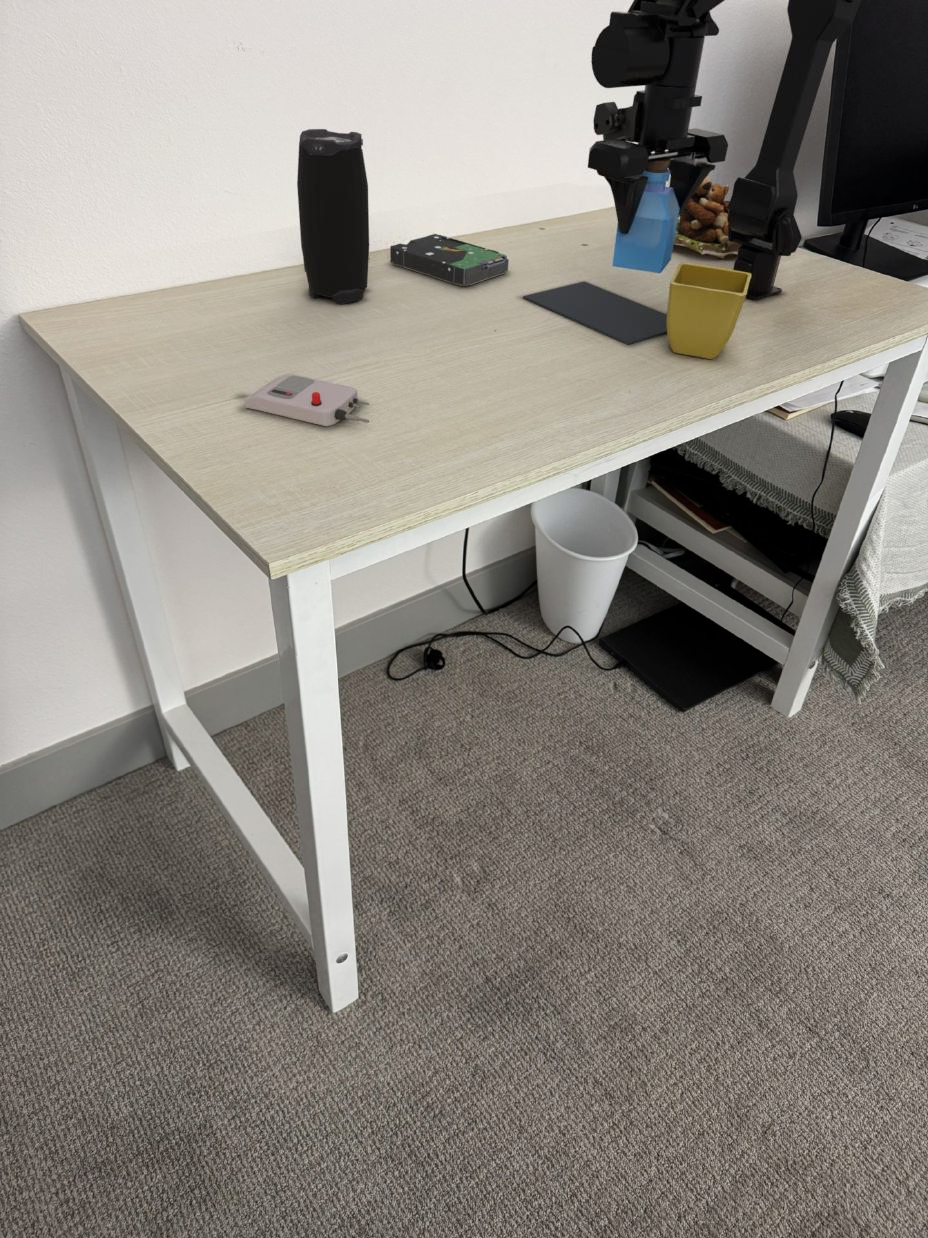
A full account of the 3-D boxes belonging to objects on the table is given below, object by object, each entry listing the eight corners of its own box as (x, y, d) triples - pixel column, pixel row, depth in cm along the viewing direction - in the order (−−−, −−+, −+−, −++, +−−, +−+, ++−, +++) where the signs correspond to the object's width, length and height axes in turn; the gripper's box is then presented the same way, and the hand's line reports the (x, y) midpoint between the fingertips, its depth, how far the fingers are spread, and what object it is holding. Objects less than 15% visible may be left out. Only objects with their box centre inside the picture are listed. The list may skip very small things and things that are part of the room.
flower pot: (735, 343, 112) (752, 271, 106) (728, 369, 105) (746, 293, 100) (666, 332, 114) (680, 261, 108) (655, 357, 107) (669, 282, 102)
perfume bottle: (612, 266, 111) (625, 160, 103) (624, 252, 115) (638, 150, 107) (660, 273, 109) (678, 167, 101) (670, 259, 113) (688, 156, 106)
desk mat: (584, 283, 128) (584, 281, 128) (690, 325, 116) (690, 323, 116) (522, 298, 122) (522, 295, 122) (628, 344, 110) (628, 342, 110)
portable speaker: (379, 288, 123) (376, 130, 110) (353, 310, 116) (348, 144, 103) (322, 279, 124) (313, 123, 112) (294, 300, 117) (281, 136, 105)
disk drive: (388, 265, 131) (465, 288, 124) (388, 246, 129) (465, 268, 122) (434, 251, 137) (509, 272, 130) (434, 232, 136) (510, 252, 128)
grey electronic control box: (264, 381, 97) (261, 355, 95) (391, 410, 93) (391, 383, 91) (230, 404, 92) (226, 377, 91) (362, 436, 88) (361, 408, 86)
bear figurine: (692, 264, 137) (709, 179, 130) (643, 237, 148) (656, 157, 140) (764, 258, 141) (784, 175, 134) (711, 232, 152) (727, 154, 144)
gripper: (671, 69, 109) (649, 203, 119) (562, 77, 100) (548, 223, 109) (743, 82, 102) (714, 223, 112) (634, 92, 93) (613, 246, 103)
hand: (647, 228), depth 109 cm, fingers closed on perfume bottle, 8 cm apart
